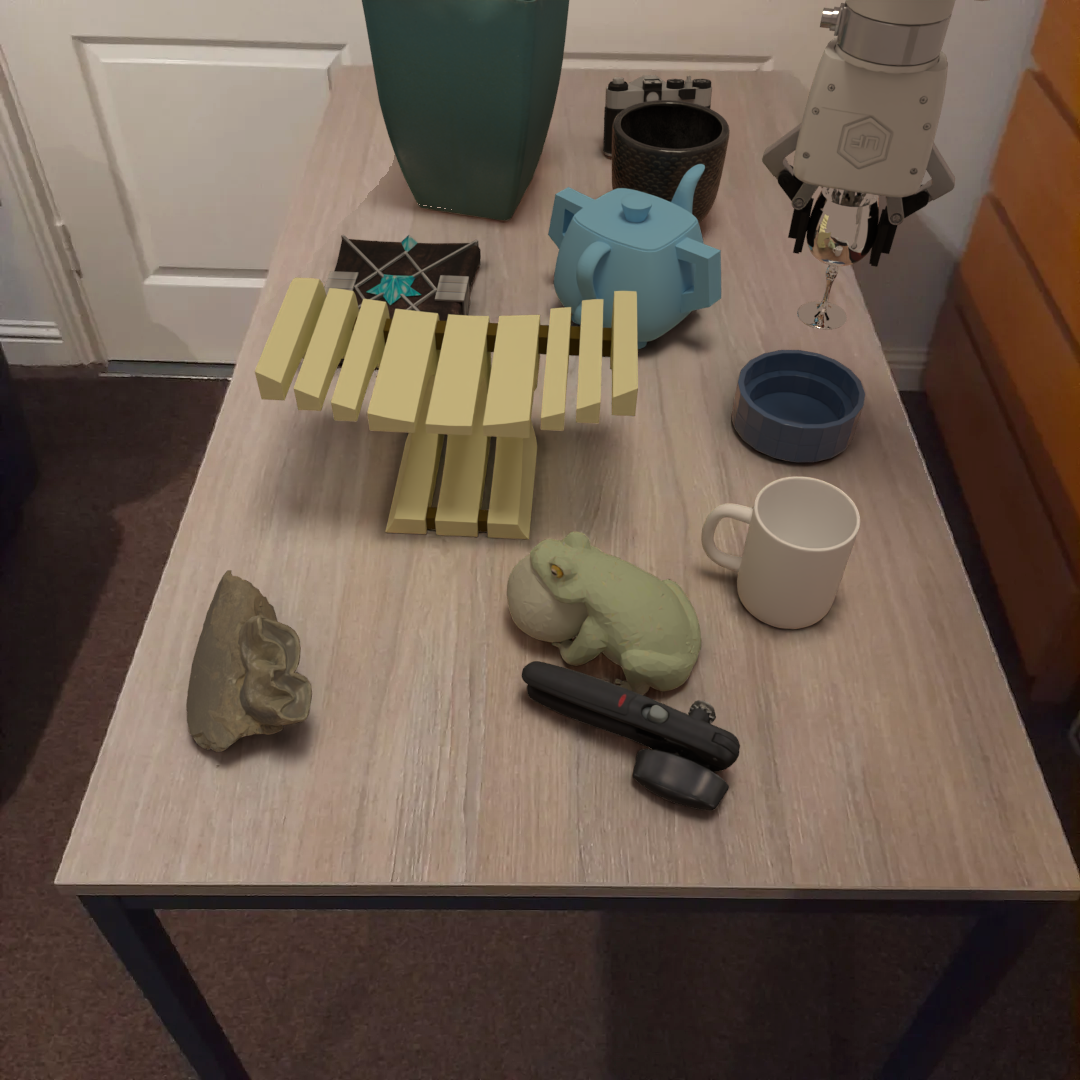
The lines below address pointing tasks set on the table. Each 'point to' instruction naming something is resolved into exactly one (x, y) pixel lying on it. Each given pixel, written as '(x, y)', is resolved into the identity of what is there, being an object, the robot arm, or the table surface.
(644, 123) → the planter
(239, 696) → the fossil
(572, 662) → the figurine
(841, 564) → the cup
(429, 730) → the table surface
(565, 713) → the can opener
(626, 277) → the teapot
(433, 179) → the flower pot
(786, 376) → the bowl
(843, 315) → the wineglass
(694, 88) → the camera
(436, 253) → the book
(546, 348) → the slatted curved stool
